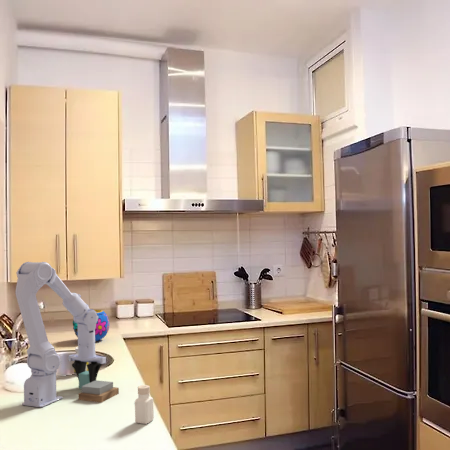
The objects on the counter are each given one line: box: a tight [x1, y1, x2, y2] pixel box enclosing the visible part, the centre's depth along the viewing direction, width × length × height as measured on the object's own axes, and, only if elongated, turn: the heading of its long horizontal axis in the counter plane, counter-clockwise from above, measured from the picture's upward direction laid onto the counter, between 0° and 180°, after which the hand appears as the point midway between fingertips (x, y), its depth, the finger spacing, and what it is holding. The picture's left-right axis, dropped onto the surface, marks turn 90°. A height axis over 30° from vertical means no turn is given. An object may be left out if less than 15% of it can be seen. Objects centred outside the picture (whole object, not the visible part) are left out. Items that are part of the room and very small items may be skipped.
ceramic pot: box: [72, 309, 110, 342], centre depth 246 cm, size 18×18×15 cm
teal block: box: [78, 371, 90, 390], centre depth 167 cm, size 4×4×5 cm
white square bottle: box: [134, 384, 155, 425], centre depth 134 cm, size 4×4×10 cm
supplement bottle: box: [73, 346, 90, 376], centre depth 185 cm, size 5×5×10 cm
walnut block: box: [77, 386, 120, 403], centre depth 157 cm, size 9×9×2 cm
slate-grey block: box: [81, 379, 114, 395], centre depth 157 cm, size 7×7×2 cm
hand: (87, 383), depth 167 cm, fingers closed on teal block, 4 cm apart
